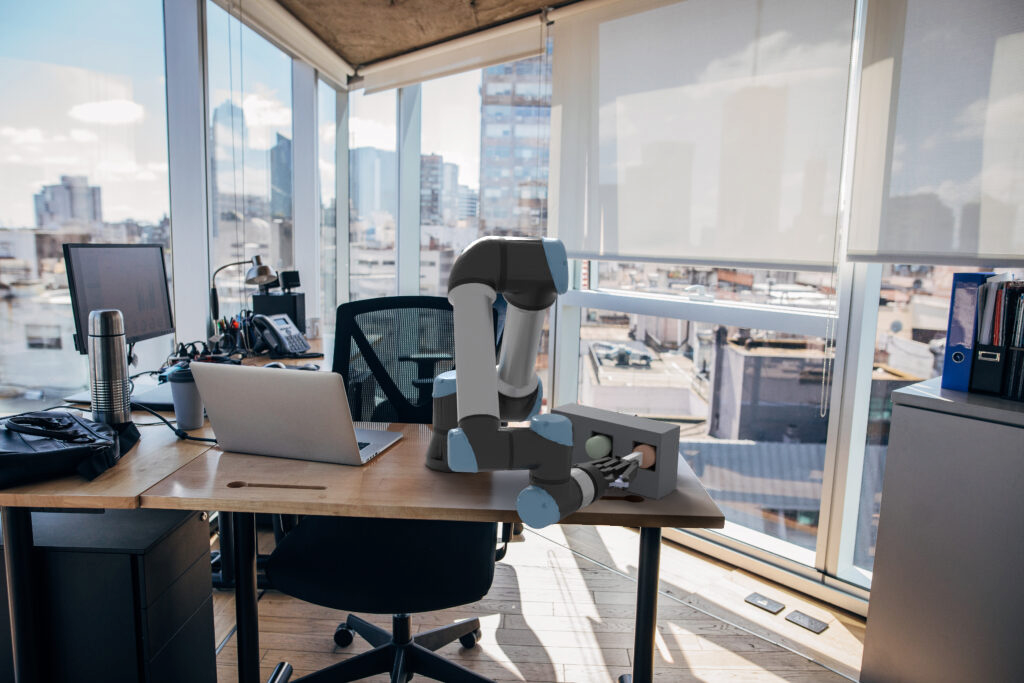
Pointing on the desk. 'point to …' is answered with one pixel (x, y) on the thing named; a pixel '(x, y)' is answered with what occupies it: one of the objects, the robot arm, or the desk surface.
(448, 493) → the desk surface
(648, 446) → the terracotta button
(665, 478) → the grey button box
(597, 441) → the sage button
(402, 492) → the desk surface
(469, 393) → the robot arm
